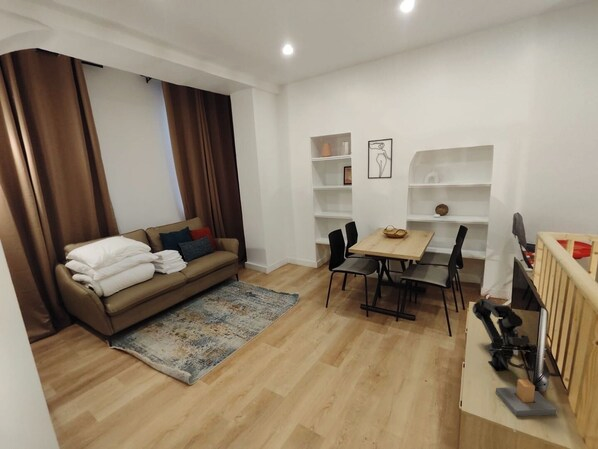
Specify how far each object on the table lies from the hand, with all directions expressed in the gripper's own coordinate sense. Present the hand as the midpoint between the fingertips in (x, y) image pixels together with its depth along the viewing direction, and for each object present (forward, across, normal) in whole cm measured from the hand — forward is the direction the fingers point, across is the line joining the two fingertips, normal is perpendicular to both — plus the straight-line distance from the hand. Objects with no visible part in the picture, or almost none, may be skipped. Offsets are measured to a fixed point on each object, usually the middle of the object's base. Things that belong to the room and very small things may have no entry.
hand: (519, 369), depth 121 cm
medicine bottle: (-13, +12, +31) cm, 35 cm away
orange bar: (+12, 0, +5) cm, 13 cm away
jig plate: (+12, 0, +5) cm, 13 cm away
